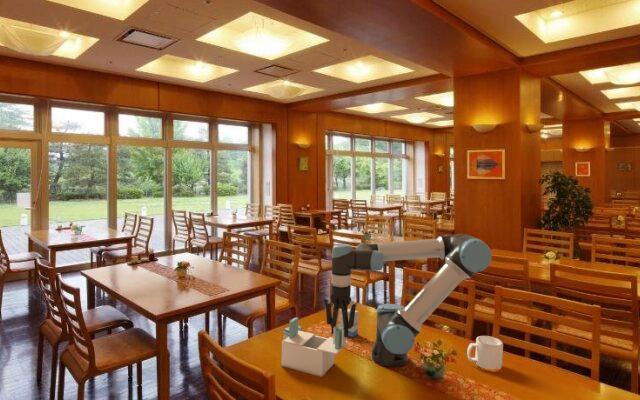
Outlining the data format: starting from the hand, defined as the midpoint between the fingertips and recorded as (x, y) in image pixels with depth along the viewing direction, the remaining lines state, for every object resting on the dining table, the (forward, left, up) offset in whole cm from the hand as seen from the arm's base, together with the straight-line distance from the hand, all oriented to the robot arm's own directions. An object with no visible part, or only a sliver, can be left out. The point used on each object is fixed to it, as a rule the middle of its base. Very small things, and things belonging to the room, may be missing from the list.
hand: (339, 343), depth 154 cm
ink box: (+11, -37, -12) cm, 40 cm away
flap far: (+18, 0, -2) cm, 18 cm away
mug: (-51, -34, -12) cm, 63 cm away
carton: (+14, 0, -12) cm, 18 cm away
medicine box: (+28, -12, -12) cm, 32 cm away
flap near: (+3, 0, -2) cm, 3 cm away
